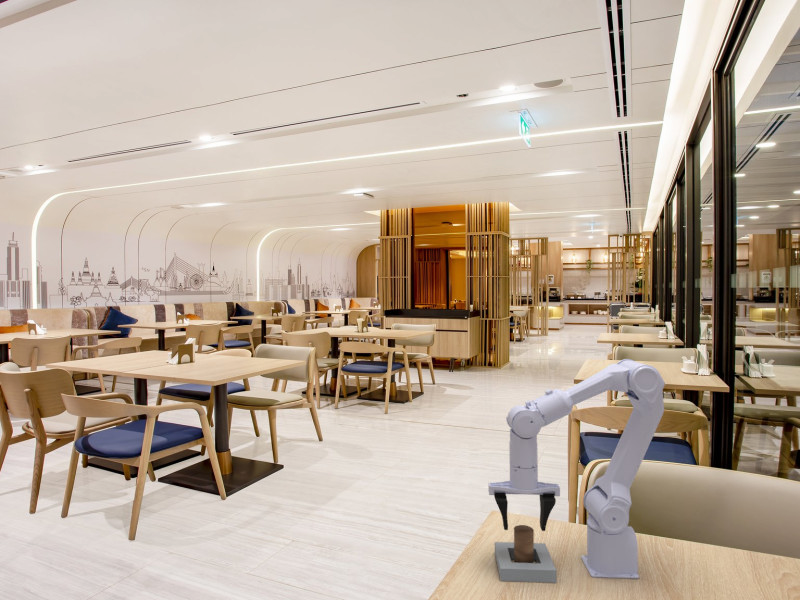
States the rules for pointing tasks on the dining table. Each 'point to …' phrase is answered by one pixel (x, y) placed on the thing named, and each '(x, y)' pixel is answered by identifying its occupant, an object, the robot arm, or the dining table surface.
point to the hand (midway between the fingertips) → (524, 528)
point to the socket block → (525, 564)
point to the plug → (523, 544)
